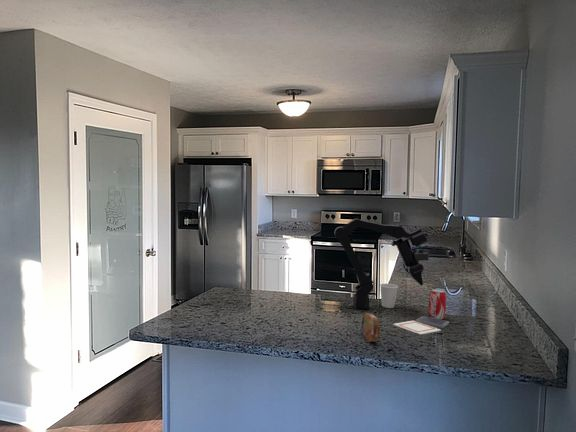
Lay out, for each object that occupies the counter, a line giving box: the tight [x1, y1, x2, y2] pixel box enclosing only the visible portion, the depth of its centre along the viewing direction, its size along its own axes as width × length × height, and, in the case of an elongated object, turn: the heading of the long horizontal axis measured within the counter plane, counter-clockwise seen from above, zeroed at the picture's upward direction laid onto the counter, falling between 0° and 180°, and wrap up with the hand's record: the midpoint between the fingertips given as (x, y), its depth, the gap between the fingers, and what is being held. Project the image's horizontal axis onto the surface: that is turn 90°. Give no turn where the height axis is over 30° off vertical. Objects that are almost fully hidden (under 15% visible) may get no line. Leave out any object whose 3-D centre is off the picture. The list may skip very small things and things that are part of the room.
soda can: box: [428, 288, 447, 320], centre depth 196 cm, size 7×7×12 cm
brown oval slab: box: [361, 312, 381, 343], centre depth 163 cm, size 15×3×8 cm, turn 5°
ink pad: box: [415, 315, 450, 329], centre depth 187 cm, size 11×8×1 cm
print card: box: [392, 320, 442, 335], centre depth 180 cm, size 14×12×1 cm
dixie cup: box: [379, 283, 399, 309], centre depth 212 cm, size 8×8×10 cm
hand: (419, 283), depth 204 cm, fingers open, 9 cm apart
